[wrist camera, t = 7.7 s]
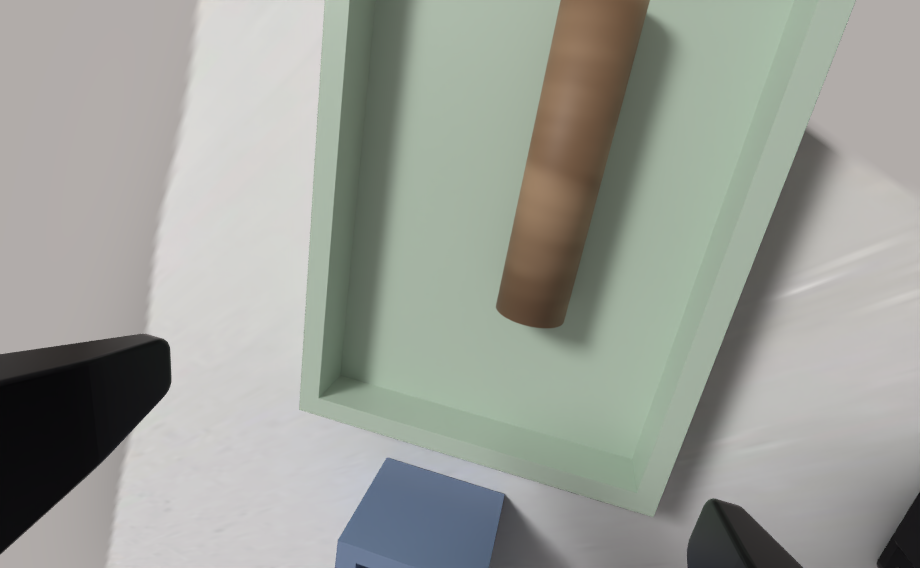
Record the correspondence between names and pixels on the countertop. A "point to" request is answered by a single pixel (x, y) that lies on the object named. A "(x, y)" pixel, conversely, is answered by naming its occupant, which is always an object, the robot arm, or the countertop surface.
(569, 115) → the walnut dowel
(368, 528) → the slate blue cup
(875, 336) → the countertop surface
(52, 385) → the robot arm
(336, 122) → the sage tray
